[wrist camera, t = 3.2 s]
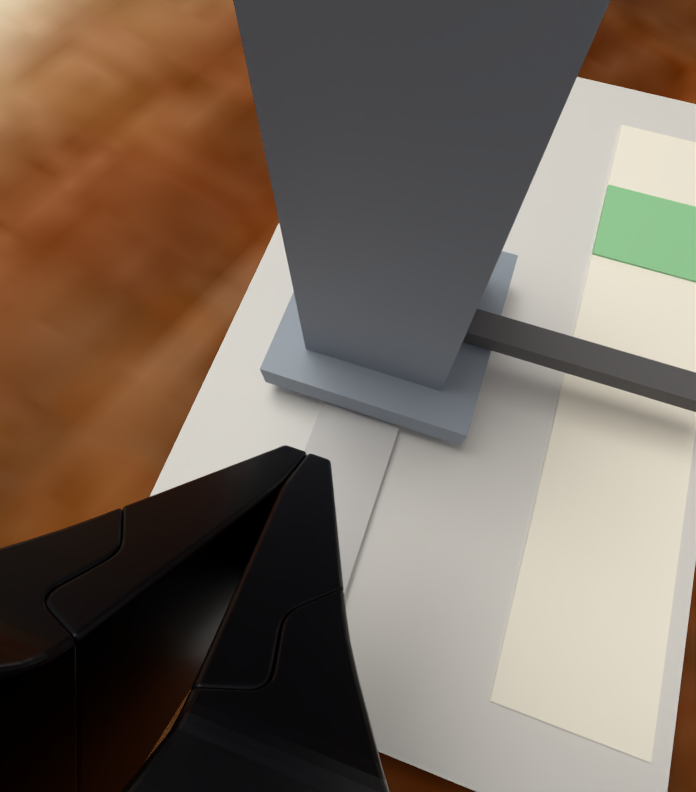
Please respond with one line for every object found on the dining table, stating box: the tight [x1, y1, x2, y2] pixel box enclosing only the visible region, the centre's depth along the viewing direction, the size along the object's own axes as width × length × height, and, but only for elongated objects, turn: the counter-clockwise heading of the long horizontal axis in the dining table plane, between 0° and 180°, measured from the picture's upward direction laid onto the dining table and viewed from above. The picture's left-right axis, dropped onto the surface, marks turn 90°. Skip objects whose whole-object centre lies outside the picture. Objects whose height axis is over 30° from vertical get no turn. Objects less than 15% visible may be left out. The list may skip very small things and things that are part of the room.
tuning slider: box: [233, 0, 696, 445], centre depth 10 cm, size 6×12×12 cm, turn 71°
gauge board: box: [150, 77, 696, 792], centre depth 18 cm, size 24×15×2 cm, turn 161°
